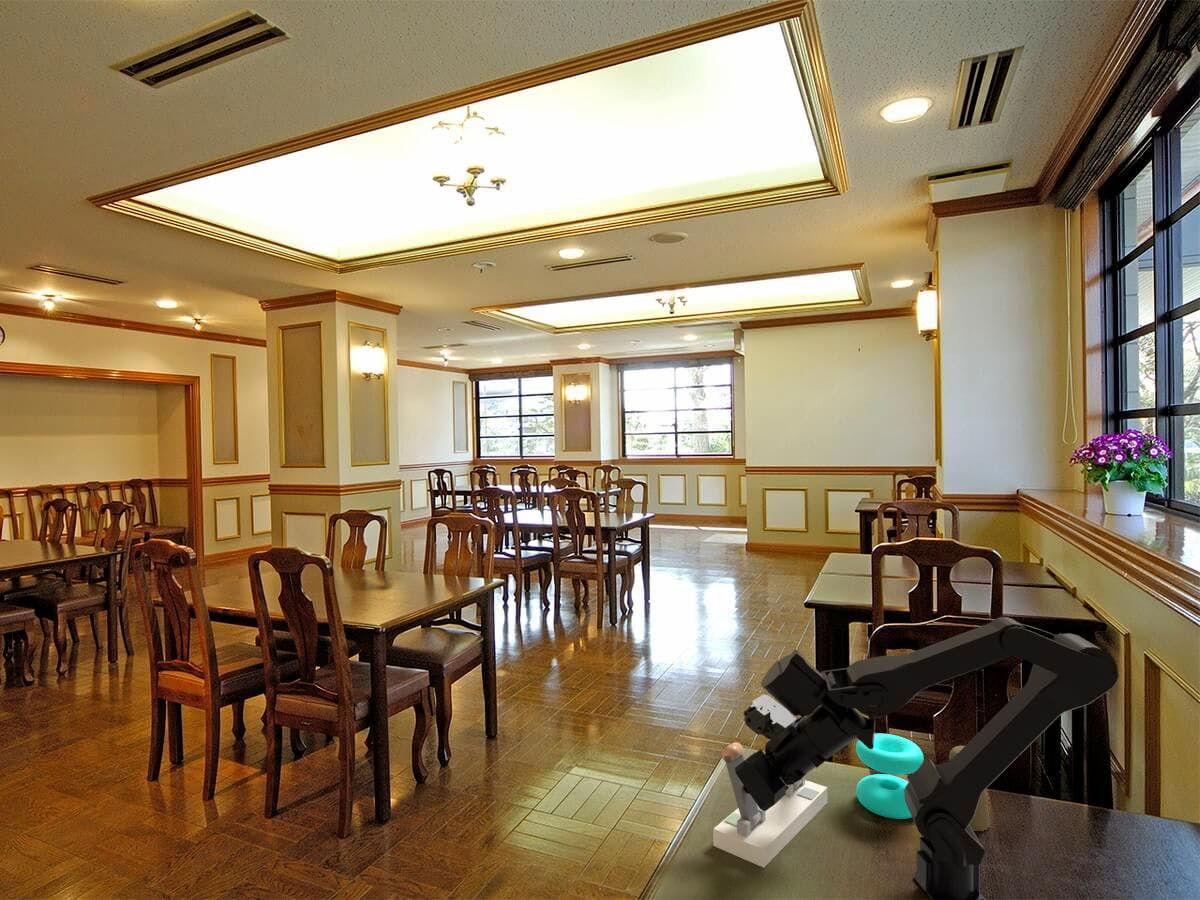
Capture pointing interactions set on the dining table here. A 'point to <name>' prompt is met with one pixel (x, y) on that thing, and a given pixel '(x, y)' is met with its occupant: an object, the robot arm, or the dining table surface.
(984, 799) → the cork
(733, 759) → the terracotta lever
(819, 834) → the dining table surface
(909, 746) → the teal curved piece
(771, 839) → the switch unit
